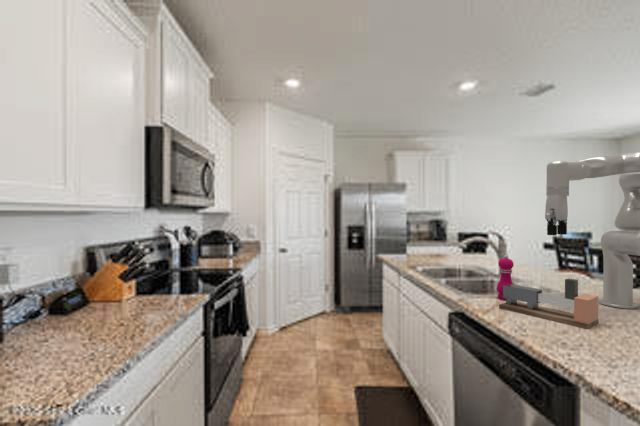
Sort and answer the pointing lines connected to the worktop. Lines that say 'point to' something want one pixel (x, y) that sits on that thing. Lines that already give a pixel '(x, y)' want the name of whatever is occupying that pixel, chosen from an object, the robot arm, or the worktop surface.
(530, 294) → the outer sleeve
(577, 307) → the socket block
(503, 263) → the pepper mill
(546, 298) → the tube
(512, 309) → the base board
